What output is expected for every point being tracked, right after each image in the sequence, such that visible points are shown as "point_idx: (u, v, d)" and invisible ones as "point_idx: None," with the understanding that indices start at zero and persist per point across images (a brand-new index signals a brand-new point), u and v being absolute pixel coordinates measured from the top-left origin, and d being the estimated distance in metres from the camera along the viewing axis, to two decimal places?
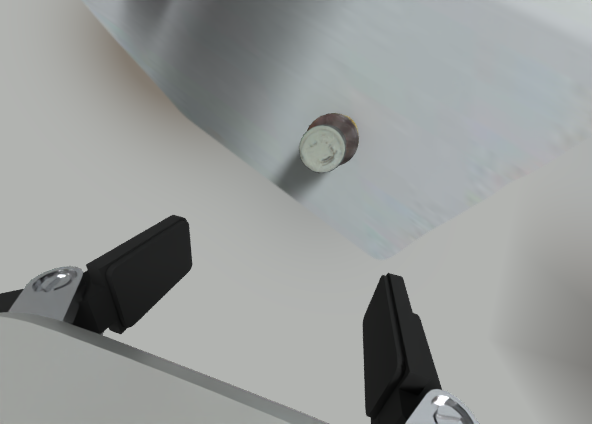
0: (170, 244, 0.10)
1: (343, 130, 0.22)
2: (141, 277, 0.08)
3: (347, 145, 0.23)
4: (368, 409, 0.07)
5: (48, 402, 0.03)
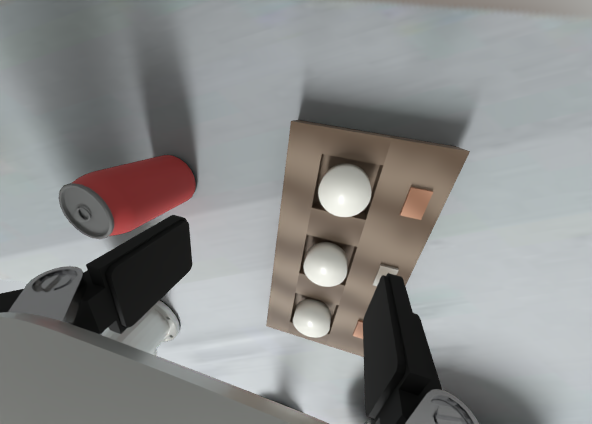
0: (170, 244, 0.10)
1: None
2: (141, 277, 0.08)
3: None
4: (368, 409, 0.07)
5: (48, 402, 0.03)
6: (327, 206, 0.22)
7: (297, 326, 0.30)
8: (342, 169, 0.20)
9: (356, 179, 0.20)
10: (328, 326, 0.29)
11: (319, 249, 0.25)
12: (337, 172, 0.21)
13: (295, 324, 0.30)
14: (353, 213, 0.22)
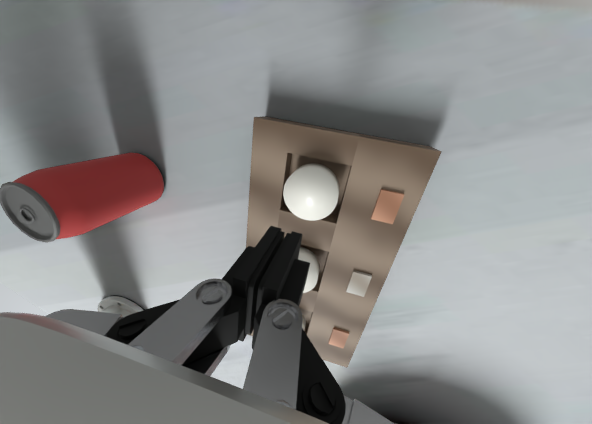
0: None
1: None
2: None
3: None
4: None
5: (48, 402, 0.03)
6: (293, 209, 0.21)
7: None
8: (306, 169, 0.19)
9: (322, 180, 0.19)
10: None
11: None
12: (301, 172, 0.19)
13: None
14: (320, 216, 0.21)
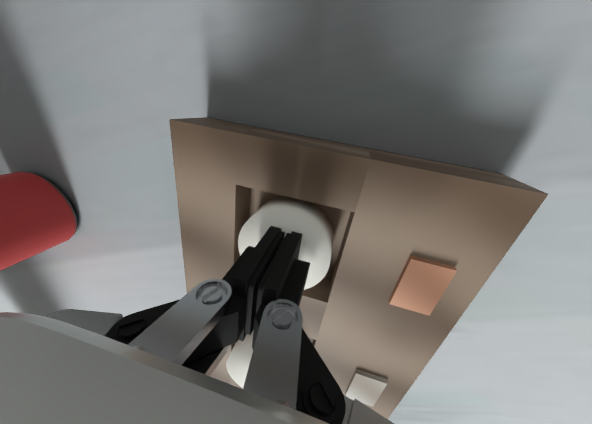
0: None
1: None
2: None
3: None
4: None
5: (48, 402, 0.03)
6: None
7: None
8: (274, 212, 0.11)
9: (301, 231, 0.11)
10: None
11: (249, 344, 0.14)
12: (266, 217, 0.11)
13: None
14: None
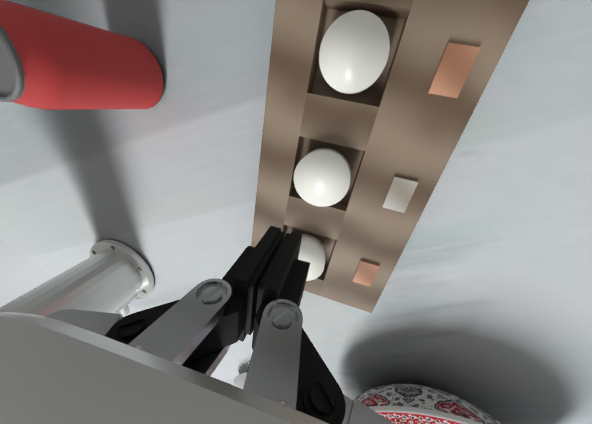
0: None
1: None
2: None
3: None
4: None
5: (48, 402, 0.03)
6: (330, 77, 0.17)
7: None
8: (352, 13, 0.15)
9: (370, 28, 0.15)
10: (322, 264, 0.23)
11: (315, 151, 0.19)
12: (345, 19, 0.15)
13: None
14: (363, 85, 0.17)
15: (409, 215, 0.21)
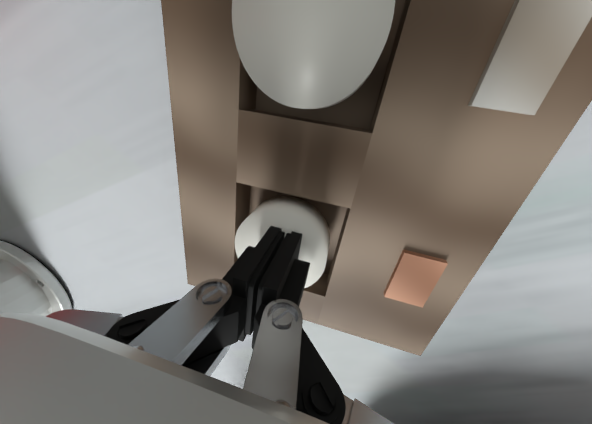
0: None
1: None
2: None
3: None
4: None
5: (48, 402, 0.03)
6: None
7: None
8: None
9: None
10: (323, 255, 0.11)
11: None
12: None
13: None
14: None
15: (543, 124, 0.08)
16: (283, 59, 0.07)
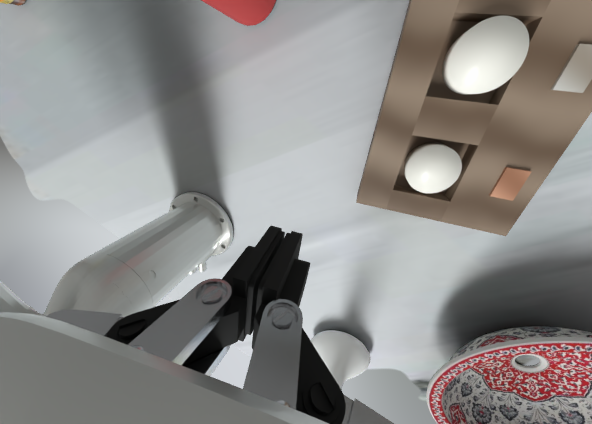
0: None
1: None
2: None
3: None
4: None
5: (48, 402, 0.03)
6: None
7: (411, 177, 0.24)
8: None
9: None
10: (459, 169, 0.22)
11: (483, 21, 0.17)
12: None
13: (408, 175, 0.24)
14: None
15: (587, 96, 0.18)
16: (470, 73, 0.18)
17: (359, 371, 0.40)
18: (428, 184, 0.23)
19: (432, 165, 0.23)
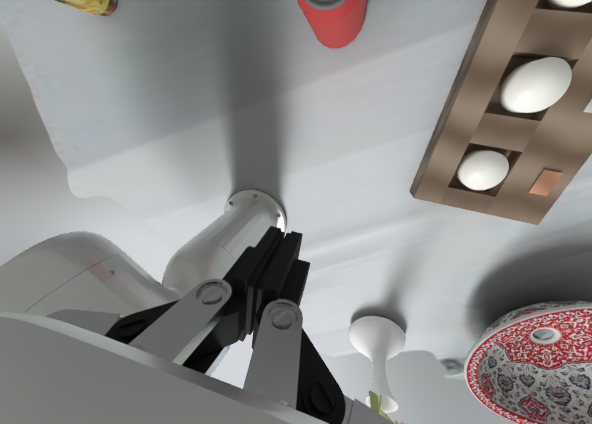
0: None
1: None
2: None
3: None
4: None
5: (48, 402, 0.03)
6: None
7: (465, 177, 0.29)
8: None
9: None
10: (506, 170, 0.28)
11: None
12: None
13: (463, 175, 0.29)
14: None
15: None
16: (526, 97, 0.23)
17: (397, 351, 0.44)
18: (479, 182, 0.29)
19: (484, 167, 0.28)
